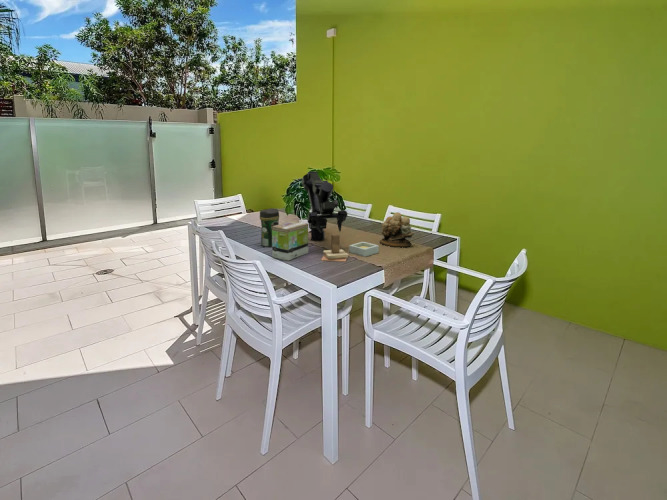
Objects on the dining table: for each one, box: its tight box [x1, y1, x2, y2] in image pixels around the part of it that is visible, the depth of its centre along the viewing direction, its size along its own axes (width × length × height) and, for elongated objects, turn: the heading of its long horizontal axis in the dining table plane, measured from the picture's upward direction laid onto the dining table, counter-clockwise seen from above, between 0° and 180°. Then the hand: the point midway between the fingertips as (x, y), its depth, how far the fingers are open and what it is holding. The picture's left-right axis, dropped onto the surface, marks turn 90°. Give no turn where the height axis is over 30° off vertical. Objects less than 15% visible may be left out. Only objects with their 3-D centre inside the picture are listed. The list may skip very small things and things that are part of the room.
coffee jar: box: [259, 207, 280, 248], centre depth 189 cm, size 10×8×19 cm
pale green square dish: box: [348, 241, 380, 258], centre depth 179 cm, size 10×10×4 cm
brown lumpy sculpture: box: [379, 212, 415, 249], centre depth 191 cm, size 18×12×17 cm, turn 60°
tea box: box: [271, 220, 309, 262], centre depth 173 cm, size 15×10×15 cm, turn 148°
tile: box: [320, 253, 350, 263], centre depth 172 cm, size 11×11×1 cm
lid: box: [322, 233, 349, 259], centre depth 170 cm, size 9×9×10 cm
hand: (330, 231), depth 176 cm, fingers open, 9 cm apart
